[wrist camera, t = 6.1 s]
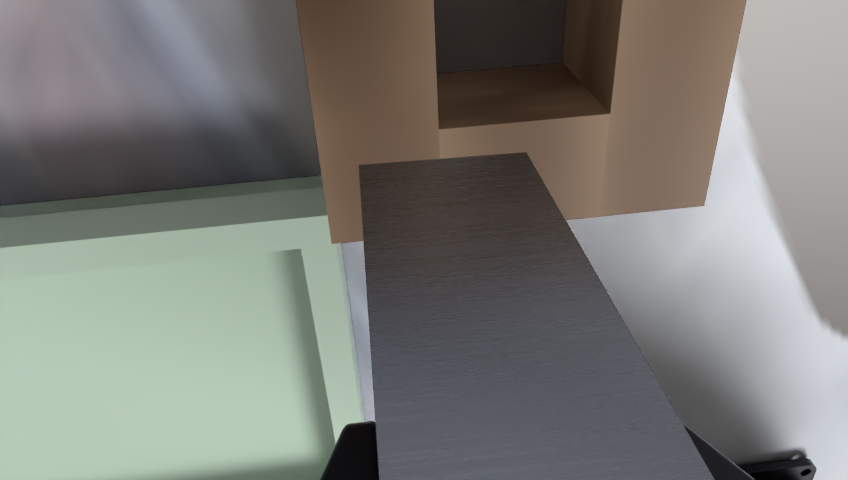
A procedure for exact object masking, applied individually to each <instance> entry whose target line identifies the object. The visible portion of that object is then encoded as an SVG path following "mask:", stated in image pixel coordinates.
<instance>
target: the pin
mask: <svg viewBox="0 0 848 480" xmlns="http://www.w3.org/2000/svg"><path fill="white" fill-rule="evenodd" d="M359 179H360V194H361V210H362V225H363V240H364V255H365V270H366V285H367V300H368V315H369V331H370V346H371V361H372V376H373V391H374V406H375V421H376V436H377V452H378V467H379V480H715V479H714V478H713V476H712V474H711V472H710V471H709V469H708V467H707V465H706V464H705V462H704V460H703V459H702V457H701V455H700V453H699V452H698V450H697V448H696V446H695V445H694V443H693V441H692V439H691V438H690V436H689V434H688V432H687V431H686V429H685V427H684V425H683V424H682V422H681V420H680V419H679V417H678V415H677V413H676V412H675V410H674V408H673V406H672V405H671V403H670V401H669V399H668V398H667V396H666V394H665V392H664V391H663V389H662V387H661V385H660V384H659V382H658V380H657V378H656V377H655V375H654V373H653V372H652V370H651V368H650V366H649V365H648V363H647V361H646V359H645V358H644V356H643V354H642V352H641V351H640V349H639V347H638V345H637V344H636V342H635V340H634V338H633V337H632V335H631V333H630V331H629V330H628V328H627V326H626V325H625V323H624V321H623V319H622V318H621V316H620V314H619V312H618V311H617V309H616V307H615V305H614V304H613V302H612V300H611V298H610V297H609V295H608V293H607V291H606V290H605V288H604V286H603V285H602V283H601V281H600V279H599V278H598V276H597V274H596V272H595V271H594V269H593V267H592V265H591V264H590V262H589V260H588V258H587V257H586V255H585V253H584V251H583V250H582V248H581V246H580V244H579V243H578V241H577V239H576V238H575V236H574V234H573V232H572V231H571V229H570V227H569V225H568V224H567V222H566V220H565V218H564V217H563V215H562V213H561V211H560V210H559V208H558V206H557V204H556V203H555V201H554V199H553V198H552V196H551V194H550V192H549V191H548V189H547V187H546V185H545V184H544V182H543V180H542V178H541V177H540V175H539V173H538V171H537V170H536V168H535V166H534V164H533V163H532V161H531V159H530V157H529V156H528V154H527V152H523V153H509V154H496V155H483V156H470V157H456V158H443V159H430V160H416V161H403V162H390V163H377V164H363V165H359Z"/></svg>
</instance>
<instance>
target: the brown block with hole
mask: <svg viewBox="0 0 848 480" xmlns="http://www.w3.org/2000/svg"><path fill="white" fill-rule="evenodd" d="M745 5H746V0H567V3H566V18H565V34H564V49H563V63H553V64H542V65H530V66H518V67H507V68H495V69H483V70H472V71H460V72H448V73H436V48H435V22H434V0H296V6H297V13H298V19H299V26H300V33H301V40H302V46H303V53H304V60H305V67H306V74H307V80H308V87H309V94H310V101H311V107H312V114H313V121H314V128H315V135H316V141H317V148H318V155H319V162H320V168H321V175H322V182H323V189H324V196H325V202H326V209H327V216H328V223H329V229H330V236H331V243H332V244H337V243H347V242H356V241H364V240H363V225H362V210H361V194H360V179H359V165H363V164H377V163H390V162H403V161H416V160H430V159H443V158H456V157H470V156H483V155H496V154H509V153H523V152H527V154H528V156H529V157H530V159H531V161H532V163H533V164H534V166H535V168H536V170H537V171H538V173H539V175H540V177H541V178H542V180H543V182H544V184H545V185H546V187H547V189H548V191H549V192H550V194H551V196H552V198H553V199H554V201H555V203H556V204H557V206H558V208H559V210H560V211H561V213H562V215H563V217H564V218H565V220H570V219H580V218H590V217H600V216H609V215H619V214H629V213H639V212H648V211H658V210H668V209H677V208H687V207H697V206H704V204H705V199H706V194H707V189H708V184H709V179H710V174H711V170H712V165H713V160H714V155H715V150H716V145H717V141H718V136H719V131H720V126H721V121H722V116H723V112H724V107H725V102H726V97H727V92H728V87H729V82H730V78H731V73H732V68H733V63H734V58H735V53H736V48H737V44H738V39H739V34H740V29H741V24H742V19H743V15H744V10H745Z"/></svg>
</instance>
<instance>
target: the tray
mask: <svg viewBox="0 0 848 480" xmlns="http://www.w3.org/2000/svg"><path fill="white" fill-rule="evenodd" d="M359 422H366V418H365V411H364V403H363V396H362V389H361V382H360V374H359V367H358V360H357V353H356V345H355V338H354V331H353V324H352V316H351V309H350V302H349V295H348V287H347V280H346V273H345V266H344V258H343V251H342V244H341V243H337V244H332V243H331V236H330V229H329V223H328V216H327V209H326V202H325V196H324V189H323V182H322V175H320V176H309V177H299V178H288V179H278V180H267V181H257V182H246V183H236V184H225V185H215V186H205V187H194V188H184V189H173V190H163V191H152V192H142V193H131V194H121V195H110V196H100V197H89V198H79V199H68V200H58V201H47V202H37V203H26V204H16V205H5V206H0V480H320V477H321V475H322V473H323V471H324V469H325V466H326V464H327V462H328V460H329V458H330V455H331V453H332V451H333V449H334V447H335V444H336V442H337V440H338V438H339V436H340V433H341V431H342V429H343V428H344V427H345V426H346V425H347V424H350V423H359Z"/></svg>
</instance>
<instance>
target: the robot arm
mask: <svg viewBox="0 0 848 480" xmlns="http://www.w3.org/2000/svg"><path fill="white" fill-rule="evenodd" d="M681 422H682V421H681ZM682 424H683V425H684V427H685V429H686V431H687V432H688V434H689V436H690V438H691V439H692V441H693V443H694V445H695V446H696V448H697V450H698V452H699V453H700V455H701V457H702V459H703V460H704V462H705V464H706V465H707V467H708V469H709V471H710V472H711V474H712V476H713V478H714V479H715V480H813V477H814V475H815V472H816V467H815V466H814V464H813V463H812V462H811V460H810V459H807V458H802V459H795V460H787V461H780V462H772V463H764V464H757V465H749V466H742V467H738V466H737V465H736V464H735V463H733V462H732V461H731V460H730V459H728V458H727V457H726V456H725V455H723V454H722V453H721V452H719V451H718V450H717V449H716V448H714V447H713V446H712V445H711V444H709V443H708V442H707V441H706V440H704V439H703V438H702V437H701V436H699V435H698V434H697V433H696V432H694V431H693V430H692V429H690V428H689V427H688V426H687V425H685V424H684V423H683V422H682ZM320 480H379V467H378V452H377V436H376V422H374V421H368V422H359V423H350V424H347V425H346V426H345V427H344V428H343V429H342V431H341V433H340V436H339V438H338V440H337V442H336V444H335V447H334V449H333V451H332V453H331V455H330V458H329V460H328V462H327V464H326V466H325V469H324V471H323V473H322V475H321V477H320Z"/></svg>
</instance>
